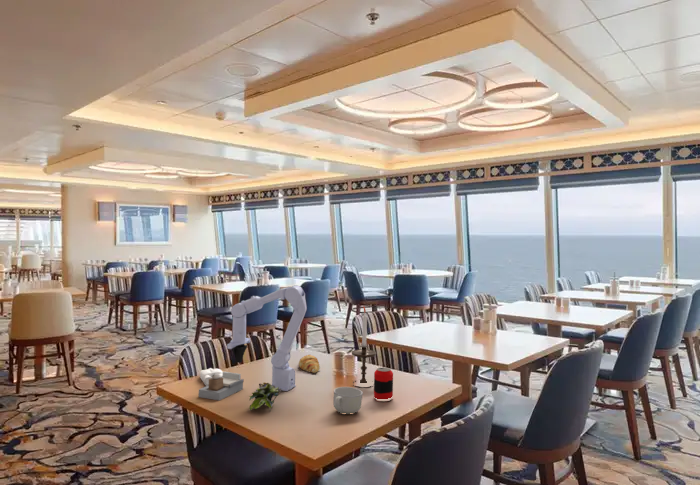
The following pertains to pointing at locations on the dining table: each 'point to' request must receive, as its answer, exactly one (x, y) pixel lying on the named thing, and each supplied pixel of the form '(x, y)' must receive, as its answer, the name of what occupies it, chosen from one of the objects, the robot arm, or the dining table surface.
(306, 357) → the croissant
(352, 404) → the teacup
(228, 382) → the lid
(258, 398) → the green leafy plant
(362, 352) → the candlestick
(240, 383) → the housing
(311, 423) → the dining table surface
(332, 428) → the dining table surface
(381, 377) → the soda can
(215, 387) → the block
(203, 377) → the binoculars
